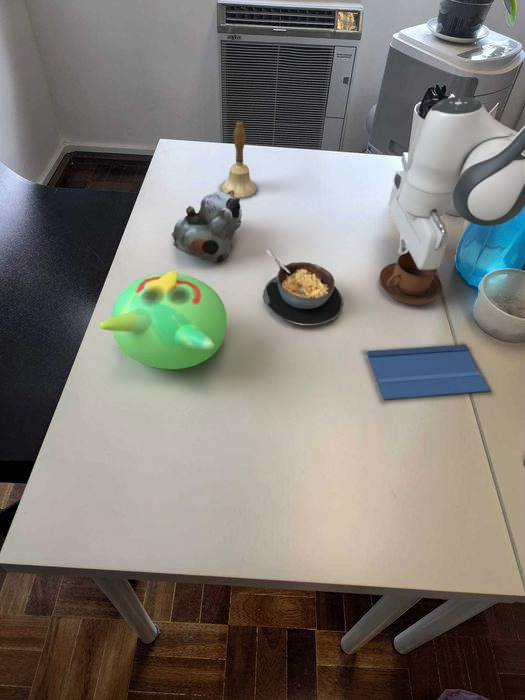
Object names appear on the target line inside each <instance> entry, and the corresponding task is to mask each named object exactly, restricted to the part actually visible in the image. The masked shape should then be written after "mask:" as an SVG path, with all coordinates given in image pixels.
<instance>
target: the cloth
mask: <svg viewBox="0 0 525 700" xmlns="http://www.w3.org/2000/svg"><path fill="white" fill-rule="evenodd" d="M469 350H470V349H469V347H468V345H467V344H451V345H437V346H424V347H423V346H421V347H410V348H407V347H406V348H395V349H394V348H393V349H379V350H368V351H366V355H367V357H368V360H369V363H370V366H371V368H372V372H373V374H374V377H375V380H376V382H377V385H378V388H379V391H380V394H381V397H382V399H383V401H391V400H403V399H414V398H415V399H416V398H417V399H418V398H428V397H429V398H430V397H440V396H441V397H442V396H454V395H462V394H463V395H465V394H476V393H478V394H479V393H488V392H490V391H491V390H490V388H489V387H488V385H487V382H486V381H485V379H484V377H483V375H482V372H481V371H480V370H479V367H478V366H477V364H476V362H475V360H474V359H473V357H472V355H471V353H470V351H469Z"/></svg>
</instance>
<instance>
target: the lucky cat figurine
mask: <svg viewBox="0 0 525 700" xmlns="http://www.w3.org/2000/svg"><path fill="white" fill-rule="evenodd" d="M240 201H241V198H234V191H233V190H231V191H229V192H228V193H225V192H223V191H214V192H212V193H209V194H207V195H206V196H204V197H203V198H202V199H201V201H200V206H199V207H200V208H199V210H198V212H196V210H195V208H194V206H191V205H189V206H187V208H185V210H186V216H185V217H182V218H179V220H177V222H176V224H175V225H174V228H173V231H172V232H171V234H170V235H171V237H172V238H173V240H174V243H173V246H174V247H175V248H176V249H177V250H179V251H181V252H184V253H185V254H188V255H191V256H195V257H198V258H200V259H202V260H203V261H207V262H211V263H217V262H222V261H225V260H226V259H227V258H228V257H229V253H230V251H231V246H232V239H233V236H234V235H235V233H236V232H237V230H238V229H239V228H240V227H241V225H242V220H241V219H242V217H243V210H242V208H241V204H240Z"/></svg>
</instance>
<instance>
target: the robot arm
mask: <svg viewBox="0 0 525 700" xmlns="http://www.w3.org/2000/svg"><path fill="white" fill-rule="evenodd" d="M392 181H393V185H392V187H391V192H390V195H389V200H388V213H389V214H390V217H391V218H392V221H393V223H394V225H395V226H396V228H397V230H398V233H399V234H400V235H399V248H398V250H397V251H398V252H397V254H398V256H399V257H400V256H401V255H402V254H405V253H410V254H411V256H412V258H413V260H414V262H415V264H416V266H417V268H418V269H419V270H434V269H436V268H437V269H438V268H439V267H440V266H441V264H442V261H443V257H444V254H445V253H446V252H445V251H446V249H447V246H448V245H447V244H448V239H449V235H448V231H447V229H446V224H445V221H443V220H442V219H441V217H442V216H444V215H445V214H447V212H448V209H449V208H450V204H451V202H452V203H453V206H454V209H455V211H456V212H457V213H458V215H459V216H460V217H461V218H462V219H464V220H465V221H466V222H469V223H471V224H474V225H477V226H484V227H493V226H498V225H502V224H505V223H507V222H510V221H511V220H513V219H514V218H516V217H517V216H518V215H519V214H520V213H521V212H522V210H523V209H524V208H525V125H524V126H523V127H522V128H520V130H519V131H518V130H516V129H513V128H510V127H508V126H506V125H504V124H502V123H501V122H499V121H498V120H497V119H495V117H493V116H492V115H491V114H490V113H489V112H488V111H487V109H486V108H485V106H484V104H483V103H482V102H481V101H480V100H479V99H476V98H472V97H468V96H453V97H451V96H450V97H449V98H444V99H441V100H439V101H438V102H436V103H435V104H434V105H433V106H432V107H431V108H430V109H429V111H428V112H427V114H426V116H425V117H424V120H423V122H422V124H421V127H420V130H419V132H418V134H417V138H416V141H415V144H414V147H413V151H412V162H411V164H410V166H409V168H408V169H407V170H396V171H395V172H394V174H393V179H392Z"/></svg>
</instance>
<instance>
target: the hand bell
mask: <svg viewBox="0 0 525 700" xmlns="http://www.w3.org/2000/svg"><path fill="white" fill-rule="evenodd" d="M235 124H236V125H235V128H234V131H233V143H234V147H235V163H233V164H232V165H231V166H230V167H229V174H228V178H227V179H226V181H224V182H223V183H222V186H221V190H222V192H225V193H228V192H229V191H231V190H233V191H234V199H236V198H239V199H245V198H249V197H252V196H253V195H254V194H256V191H257V186H256V184H255V183H254V182H253V181H252V179H251V176H250V168H249V166H247V164H244V147H245V144H246V131H245V127H244V124H243V121H240V120H239V121H236V123H235Z"/></svg>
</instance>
